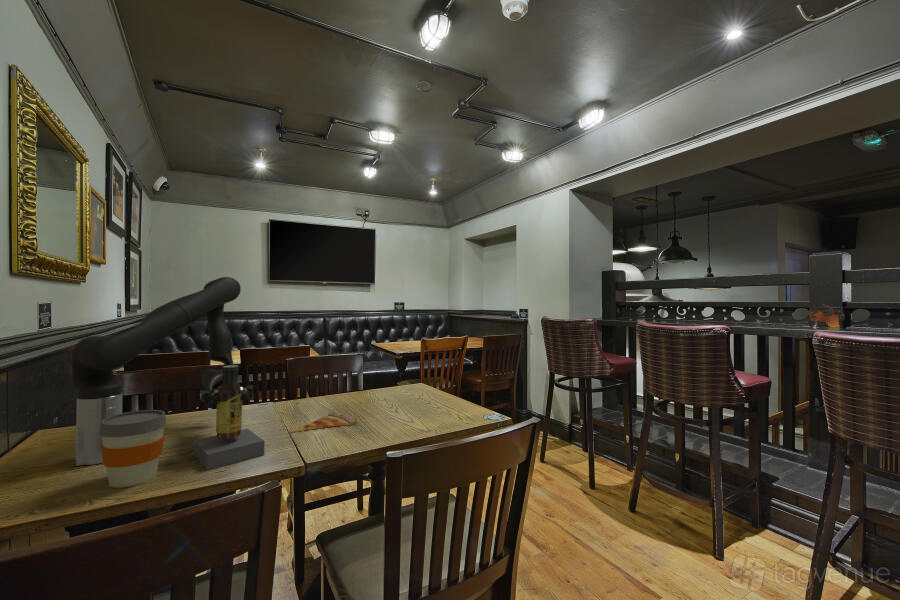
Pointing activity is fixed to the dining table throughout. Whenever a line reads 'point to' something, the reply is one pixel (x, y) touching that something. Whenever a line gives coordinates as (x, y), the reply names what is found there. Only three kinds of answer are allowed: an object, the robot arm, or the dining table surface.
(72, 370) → the robot arm
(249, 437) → the charcoal base
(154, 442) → the reusable coffee cup
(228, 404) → the sauce bottle
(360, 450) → the dining table surface
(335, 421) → the pizza slice
